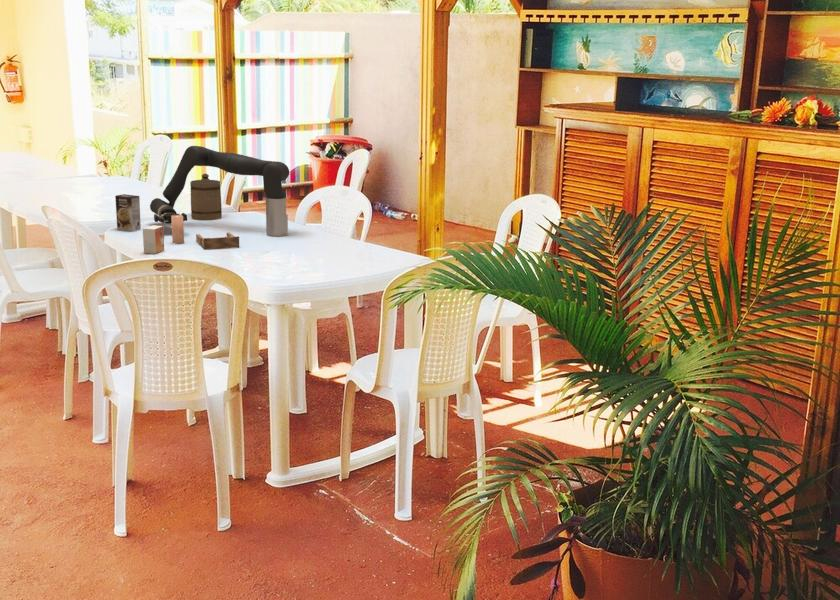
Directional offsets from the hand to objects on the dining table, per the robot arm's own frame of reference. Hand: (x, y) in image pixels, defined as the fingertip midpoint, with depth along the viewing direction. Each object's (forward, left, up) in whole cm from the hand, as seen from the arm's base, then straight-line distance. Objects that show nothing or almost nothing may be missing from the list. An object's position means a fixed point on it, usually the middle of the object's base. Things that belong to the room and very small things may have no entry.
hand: (173, 220), depth 423 cm
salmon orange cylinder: (0, +11, -8) cm, 14 cm away
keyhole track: (-16, +19, -8) cm, 26 cm away
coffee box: (+16, -24, -8) cm, 30 cm away
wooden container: (-24, -45, -8) cm, 51 cm away
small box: (+12, +26, -8) cm, 30 cm away
